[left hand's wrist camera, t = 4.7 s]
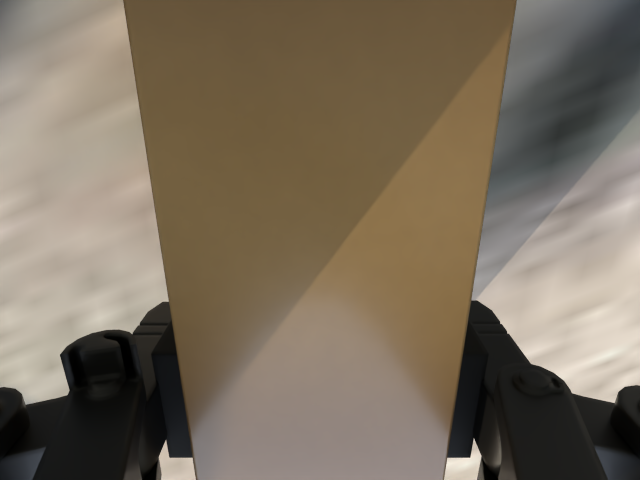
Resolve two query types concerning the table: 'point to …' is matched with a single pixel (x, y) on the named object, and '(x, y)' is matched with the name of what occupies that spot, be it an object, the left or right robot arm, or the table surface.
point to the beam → (319, 221)
